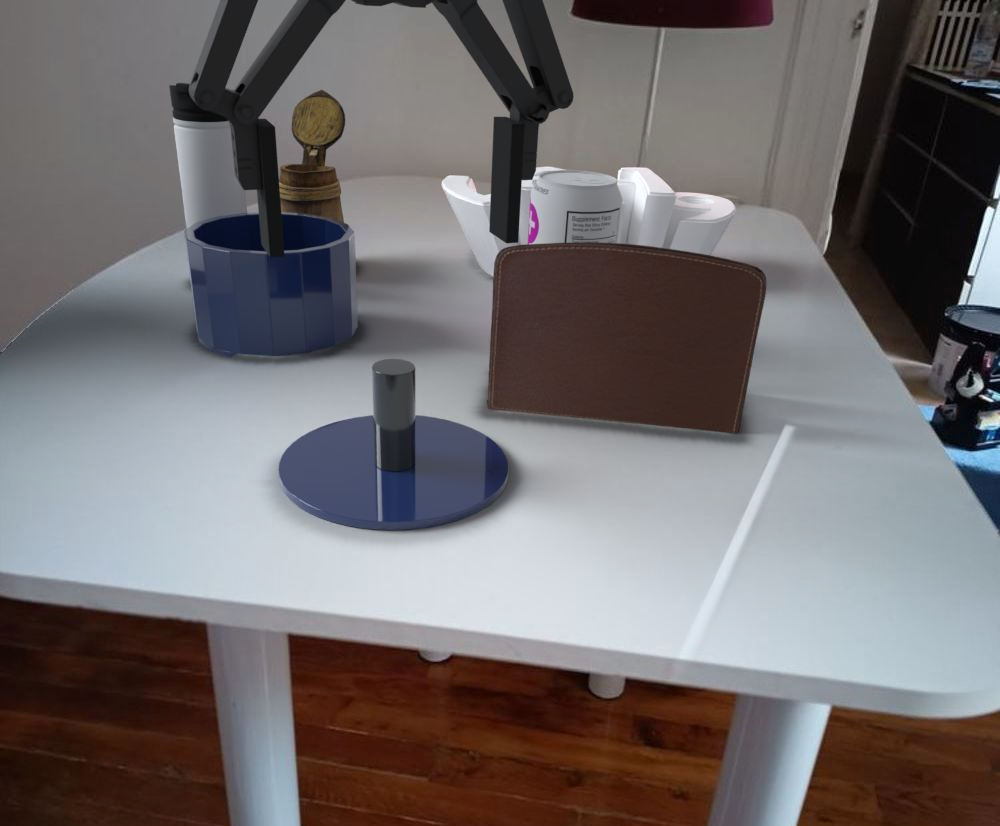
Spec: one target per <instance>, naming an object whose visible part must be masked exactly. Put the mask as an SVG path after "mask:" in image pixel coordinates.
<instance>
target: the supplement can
mask: <svg viewBox="0 0 1000 826" xmlns="http://www.w3.org/2000/svg"><path fill="white" fill-rule="evenodd" d="M617 179H618V178H616V177H614V176H612V175H610V174H606V173H603V172H602V173H601V172H595V171H587V170H575V169H564V170H556V171H548V172H543V173H541V174H539V178H538V180H537V182H536V184H535V185H534V187H533V189H532V191H531V195H530V211H529V228H528V244H547V243H575V242H577V243H585V242H596V243H618V237H619V227H620V218H621V209H622V200H623V199H622V196H621V193H620V191H619V188H618V185H617Z"/></svg>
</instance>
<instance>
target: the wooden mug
mask: <svg viewBox="0 0 1000 826" xmlns="http://www.w3.org/2000/svg"><path fill="white" fill-rule="evenodd" d="M345 126H346V113H345V110H344V108H343V106H342V105H341V103H340V102H339V101H338V100H337V99H336V98H335V97H334V96H332V95H331V94H330V93H328V92H326V91H325V90H324V89H319V90H317V91H315V92H312V93H311V94H309V95H308V96H306V97H304V98H302V100H300V101H299V102H298V103H297V104H296V106H295V107H294V109H293V112H292V117H291V133H292V137H293V138H294V139H295V141H296V142H297V143H298V144H299V145H300V146H301V147H302V149H303V151H302V152H303V153H302V162H301V163H287V164H283V165H281V166H280V167H279V188H280V202H281V212H286V213H304V214H311V215H317V216H323V217H329V218H332V219H335V220H338V221H340V222H343V223H345V219H344V213H343V207H342V199H341V195H342V188H341V183H340V179H339V178H338V175H337V169H336V167H335V166H328V165H326V157H327V150H329V148H331V147H332V146H334V145H335V144H336V143H337V142H338V141H339V140H340V139H342V136H343V134H344V130H345Z"/></svg>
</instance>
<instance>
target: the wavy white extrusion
mask: <svg viewBox="0 0 1000 826" xmlns="http://www.w3.org/2000/svg"><path fill="white" fill-rule="evenodd" d="M556 170H565V169H564V168H560V167H555V166H539V167H538V166H536V172H535V174H534V177H533V179H532V180H522V184H521V202H520V220H519V238H518V243H505V242H504V241H502V240H501V239H499V238H498V237H496V236H495V235H493V234H492V233H490V232H489V226H490V201H491V193H488V194H481V193H479V192H478V191H477V188H476V186H475V183H474V181H473V178H470V176H469V175H450V174H449V175H447V176H445V178H444V179H442V181H441V183H440V184H441V188H442V190H443V192H444V194H445V196H446V198H447V200H448V203H449V205H450V207H451V209H452V211H453V213H454V215H455V217H456V220H457V222H458V223H459V225H460V228H461V230H462V232H463V234H464V236H465V238H466V240H467V243H468V245H469V247H470V249H471V251H472V254H473V255H474V258H475V259H476V262H477V264H478V265H479V267H480V268H481V270H482V271H484V273H486V274H488V275H489V276H490V277H492V278H493V275H494V262H495V259H496V256H497V254H498V253H499V252H500V250H502V249H504V248H506V247H510V246H516V245H527V244H528V228H529V211H530V195H531V191H532V189H533V187H534V185H535V184H536V182H537V180H538V178H539V174H541V173H543V172H548V171H556ZM616 179H617V185H618V188H619V191H620V193H621V196H622V199H623V200H622V209H621V218H620V227H619V237H618V243H621V244H633V245H643V246H652V247H659V248H667V249H674V250H680V251H687V252H693V253H700V254H705V255H711V256H712V254H713V252H714V250H715V249H716V247H717V245H719V242H720V240H721V239H722V237H723V235H724V234H725V232H726V230H727V228H728V227H729V226H730V223H731V222H732V220H733V218H734V216H735V215H736V213H737V207H736V205H735V204H734V203H733V201H731V200H730V199H727V198H726V197H721V196H718V195H714V194H708V193H701V192H700V193H699V192H685V191H684V192H683V191H681V192H680V191H679V192H678V191H674V190H673V189H672V188H671V186H670V185H669V184H668V183H667V182H665V180H663V178H661V177H660V176H659V175H658V174H656V173H655V172H654V171H653V170H652V169H650V168H648V167H637V166H636V167H631V166H629V167H621V168H620V169H618V171H617V178H616Z"/></svg>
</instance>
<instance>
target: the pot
mask: <svg viewBox="0 0 1000 826" xmlns="http://www.w3.org/2000/svg"><path fill="white" fill-rule="evenodd" d="M281 215H282V229H283V243H284V257H275V258H270V257H269V255H268V254H267V252H266V251H265V249H264V248H263V246H262V245H261V233H260V221H259V211H258V212H247V213H240V214H233V215H225V216H218V217H214V218H210V219H207V220H203V221H200V222H196V223H194V224H193V225H192V226H190V227H189V228H188V229H187V228H185V230H184V231H183V233H184V240H185V241H184V242H185V250H186V255H187V256H186V257H187V264H188V272H189V279H190V288H191V296H192V304H193V312H194V317H195V318H194V320H195V328H196V332H197V337H198V338H197V339H198V341H199V343H200V344H201V345H202V346H203V347H204V348H205V349H207V350H209V351H211V352H213V353H215V354H217V355H221V356H224V357H228V358H232V357H235V356H237V355H248V356H266V357H278V356H290V355H302V354H309V353H313V352H318V351H321V350H325V349H331V348H334V347H336V346H338V345H340V344H342V343H343V342H346V341H347V340H349V339H351V338H353V336H354V335H355V333H356V331H357V329H358V327H359V324H358V323H359V322H358V321H359V320H358V296H357V295H358V292H357V290H358V289H357V263H356V261H357V260H356V259H357V258H356V234H355V233H356V232H355V231H354V230H353V228H352V227H351V226H350V225H349V224H348V223H346V222H344V223H343V222H340V221H338V220H335V219H332V218H329V217H323V216H317V215H311V214H304V213H286V212H281Z"/></svg>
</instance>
